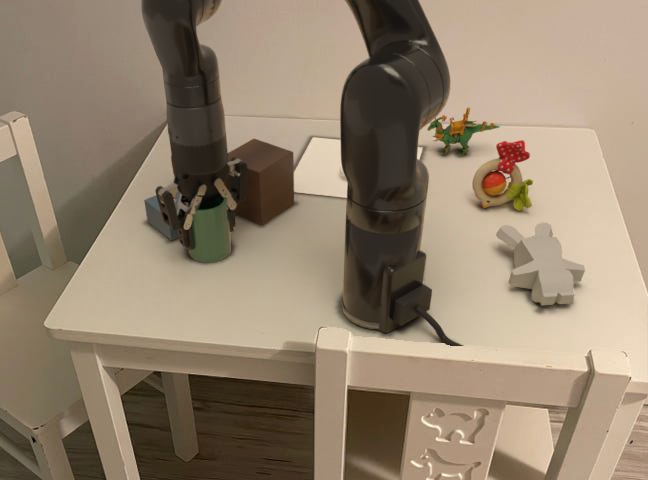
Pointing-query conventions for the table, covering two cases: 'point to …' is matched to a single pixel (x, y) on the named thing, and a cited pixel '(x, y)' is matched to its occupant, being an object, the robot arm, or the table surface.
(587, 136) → the table surface
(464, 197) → the table surface
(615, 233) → the table surface
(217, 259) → the cup
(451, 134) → the figurine
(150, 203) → the slate block
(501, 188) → the bird rattle
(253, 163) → the walnut block
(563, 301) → the bunny figurine
